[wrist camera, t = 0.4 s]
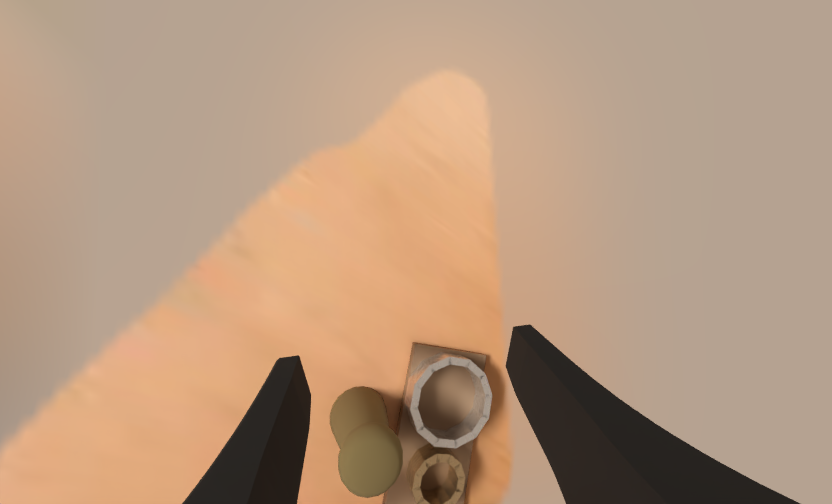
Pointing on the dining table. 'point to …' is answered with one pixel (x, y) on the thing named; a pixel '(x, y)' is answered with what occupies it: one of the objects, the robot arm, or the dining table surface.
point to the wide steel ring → (475, 416)
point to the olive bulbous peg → (365, 442)
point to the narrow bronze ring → (446, 496)
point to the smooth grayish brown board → (435, 419)
